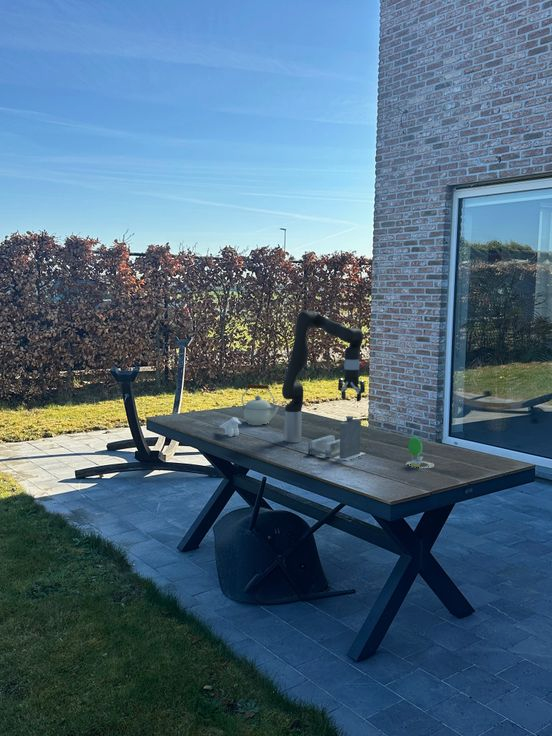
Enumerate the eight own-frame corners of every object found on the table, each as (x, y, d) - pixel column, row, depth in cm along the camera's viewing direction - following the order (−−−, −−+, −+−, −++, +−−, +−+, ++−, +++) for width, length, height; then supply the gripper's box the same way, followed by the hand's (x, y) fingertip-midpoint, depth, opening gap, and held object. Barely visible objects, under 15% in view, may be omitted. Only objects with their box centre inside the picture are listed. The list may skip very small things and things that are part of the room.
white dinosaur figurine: (237, 438, 355) (235, 418, 355) (214, 435, 374) (212, 416, 374) (246, 436, 360) (245, 417, 359) (223, 433, 378) (222, 415, 378)
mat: (333, 458, 314) (333, 457, 314) (352, 451, 328) (352, 450, 328) (347, 461, 309) (347, 460, 309) (365, 454, 324) (365, 453, 324)
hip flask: (343, 458, 312) (344, 419, 310) (336, 457, 315) (337, 418, 312) (361, 453, 324) (362, 414, 321) (355, 451, 326) (355, 413, 324)
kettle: (236, 424, 397) (236, 385, 394) (246, 419, 414) (246, 382, 412) (274, 427, 390) (274, 387, 387) (282, 421, 407) (283, 383, 404)
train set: (423, 442, 293) (399, 437, 303) (422, 470, 294) (398, 464, 305) (442, 438, 302) (418, 433, 313) (441, 465, 304) (417, 459, 314)
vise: (307, 454, 322) (307, 441, 322) (328, 447, 338) (328, 434, 337) (329, 458, 314) (329, 445, 313) (349, 451, 329) (350, 438, 329)
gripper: (335, 367, 315) (335, 399, 317) (360, 370, 307) (359, 402, 308) (343, 366, 321) (342, 397, 323) (367, 368, 312) (367, 400, 314)
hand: (351, 400), depth 316 cm, fingers open, 8 cm apart
